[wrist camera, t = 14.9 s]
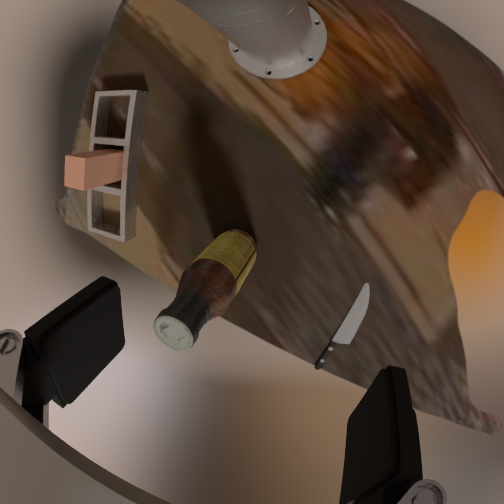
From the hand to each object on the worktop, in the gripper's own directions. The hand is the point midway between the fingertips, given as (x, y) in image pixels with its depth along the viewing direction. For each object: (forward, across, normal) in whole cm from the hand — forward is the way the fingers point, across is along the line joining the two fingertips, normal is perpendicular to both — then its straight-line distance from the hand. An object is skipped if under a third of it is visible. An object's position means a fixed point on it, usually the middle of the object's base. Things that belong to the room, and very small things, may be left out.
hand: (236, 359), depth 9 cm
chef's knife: (+31, -11, +18) cm, 37 cm away
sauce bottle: (+31, +8, +10) cm, 33 cm away
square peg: (+30, +30, +1) cm, 43 cm away
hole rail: (+30, +30, +1) cm, 43 cm away
